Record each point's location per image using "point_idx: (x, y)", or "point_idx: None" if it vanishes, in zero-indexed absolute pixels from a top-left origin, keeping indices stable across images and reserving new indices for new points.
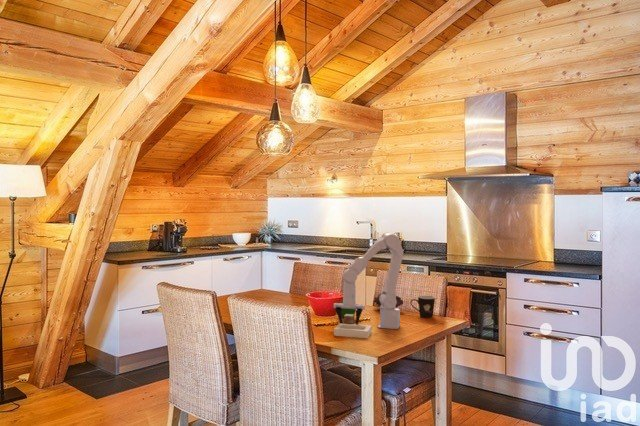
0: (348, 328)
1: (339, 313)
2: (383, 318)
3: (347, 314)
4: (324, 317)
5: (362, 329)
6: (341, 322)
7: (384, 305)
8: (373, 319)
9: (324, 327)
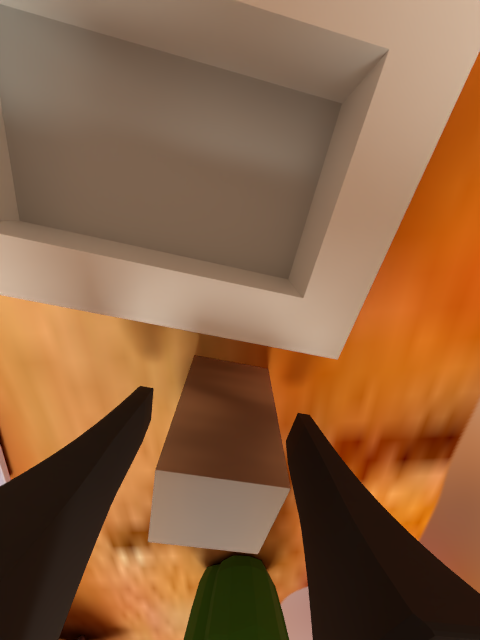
0: (225, 270)
1: (377, 536)
2: None
3: (238, 536)
4: None
5: (46, 232)
6: (297, 428)
7: None
8: None
9: (430, 387)
